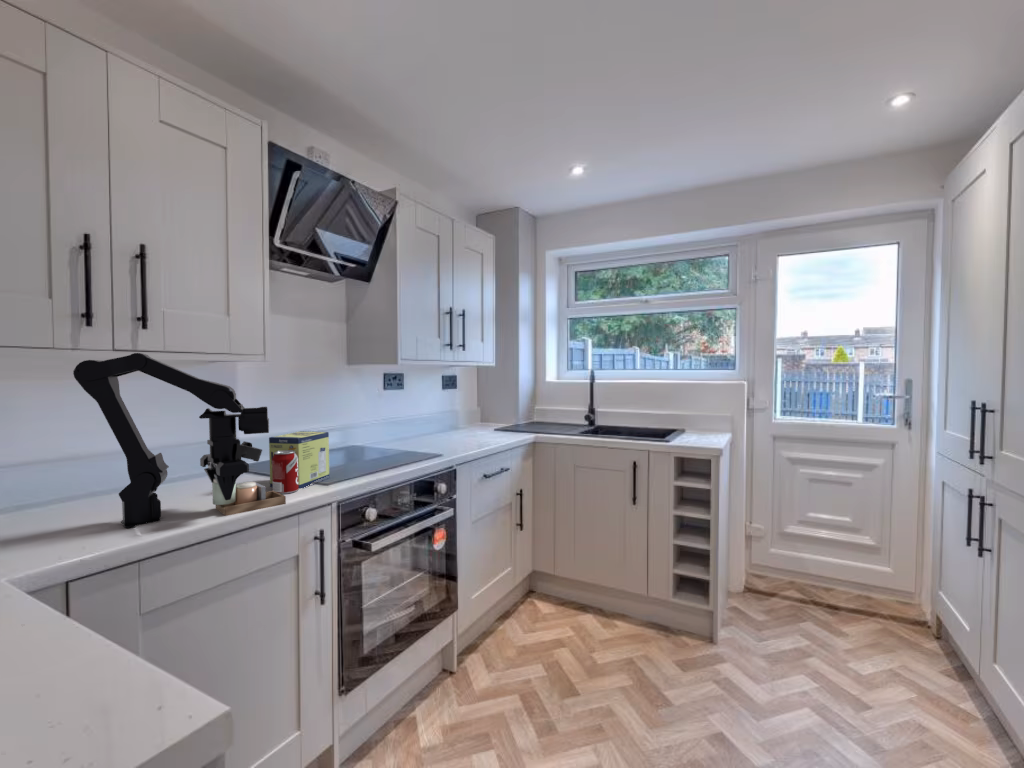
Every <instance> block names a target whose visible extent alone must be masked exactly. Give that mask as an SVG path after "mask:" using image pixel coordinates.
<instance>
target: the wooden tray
mask: <svg viewBox="0 0 1024 768" xmlns="http://www.w3.org/2000/svg"><path fill="white" fill-rule="evenodd" d="M286 498H287V497H286V496H285V494H280V493H277V492H275V491H273V490H269V491H266V499H265V500H260V501H254V502H249V503H244V504H239V505H235V502H233V503H230V504H224V505H215V510H216V511H218V512H220V513H221V514H222V515H224V516H225V517H227V516H232V515H238V514H242V513H248V512H252V511H257V510H263V509H268V508H273V507H277V506H283V505H286V503H287V502H286V501H287V500H286Z"/></svg>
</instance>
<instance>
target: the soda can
mask: <svg viewBox="0 0 1024 768" xmlns="http://www.w3.org/2000/svg"><path fill="white" fill-rule="evenodd" d="M274 454H275V455H274V457H273V458H272V480H273V487H272V491H275V492H277V493H280V494H282V495H288V494H294V493H296V492H297V491H299V486H298V456H297V455H296V454H295V451H294V450H283V451H277V452H274Z"/></svg>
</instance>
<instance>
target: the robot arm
mask: <svg viewBox="0 0 1024 768" xmlns="http://www.w3.org/2000/svg"><path fill="white" fill-rule="evenodd" d="M134 372H135V373H136V372H140V373H143V374H145V375H148V376H150V377H153V378H155V379H158V380H160V381H163V382H164V383H167V384H169V385H172V386H173V387H177V388H179V389H181V390H184V391H187V392H189V394H192V395H194V396H195V397H197V398H198V399H199V400H200V401H202V402H204V403H205V404H207V405H208V406H209V407H212V408H213V409H217V410H211V408H209V407H207V408H206V409H205V410H204V412H203V413H202V414H200V415H199V417H198V418H199V419H201V420H202V419H208V430H209V433H208V434H209V439H207V443H206V444H207V445H209V453H208V454H203V455H202V457H201V458H200V459H199V461H200V463H199V465H200V467H201V468H203V469H204V470H203V471H204V472H205V473H206V475H207V477H208V479H209V480H210V483H212V482H214V479H216V481H217V483H218V485H219V487H220V490H221V492H222V494H223V496H224V499H225V500H230V499H231V496H232V492H233V489H234V485H235V482H236V481H237V480H238V478H239V477H240V476H242V475H244V474H245V473H249V472H250V465H249V463H248V462H247V461H245V460H243V459H247V460H252V461H254V462H259V461H260V458H261V455H262V452H263V449H261V448H259V447H254V446H253V443H252V442H249V441H242V443H241V440H240V439H239V438H237V425H238V431H240V432H243V434H244V435H254V434H255V435H256V434H269V433H270V418H269V414H268V413H269V411H268V406H259V407H245V406H243V404H242V403H241V402H240V401H239V400H238V399H237V393H236V391H235V389H234V388H233V387H231V386H230V385H226V384H223V383H220V382H216V381H210V380H205V379H202V378H199V377H197V376H194V375H192V374H191V373H187V372H185V371H183V370H181V369H179V368H176V367H173V366H171V365H170V364H167V363H165V362H162V361H160V360H157V359H155V358H152V357H151V356H149V355H148V354H146V353H142V352H133V353H131V354H129V355H125V356H121V357H120V356H119V357H114V358H110V359H106V360H95V359H88V360H83V361H81V362H79V363H78V364H76V366H75V368H74V369H73V373H72V374H73V377H74V379H75V381H76V382H77V383H78V385H80V387H81V388H82V389H83V390H84V391H85V392H86V393H87V394H88V396H90V397H91V398H92V399H93V400H94V401H95V402H96V403H97V404H98V407H99V408H100V410H101V413H102V414H103V416H104V417H105V420H106V421H107V424H108V426H109V428H110V429H111V431H112V433H113V435H114V437H115V439H116V440H117V443H118V444H119V446H120V448H121V450H122V452H123V454H124V456H125V459H126V466H127V474H128V477H129V481H130V482H129V484H128V485H127V486H125V487H124V488H123V489H122V490H121V491H120V492H119V493H118V497H119V499H120V501H121V502H122V503H121V507H122V508H121V510H122V511H121V512H122V513H121V514H122V519H121V521H120V522H121V525H122V526H123V527H124V528H125V529H128V528H135V527H136V526H140V525H141V526H142V525H147V524H152V523H156V522H160V521H161V517H162V505H161V504H162V501H161V500H160V498H158V494H157V493H156V492H157V490H158V489H159V487H160V485H162V484H163V483H164V482H165V481H166V479H167V477H168V469H169V465H168V464H167V463H166V462H165V460H164V458H163V457H164V456H163V454H162V452H158V453H157V454H154V453H153V452H152V451H151V450H150V449H149V448H148V447H147V444H146V443H145V440H144V439H143V436H142V435H141V433H140V431H139V429H138V427H137V425H136V423H135V422H134V419H133V417H132V415H131V414H130V412H129V410H128V408H127V405H126V404H125V402H124V400H123V398H122V396H121V394H120V393H121V392H120V383H119V382H120V381H119V378H118V377H122V376H125V375H129V374H132V373H134ZM222 409H223V410H222ZM224 409H225V410H224ZM226 411H228V412H229V413H227V412H226ZM231 413H232V414H231ZM237 418H238V419H237ZM237 420H238V423H237ZM206 467H207V468H206Z"/></svg>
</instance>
